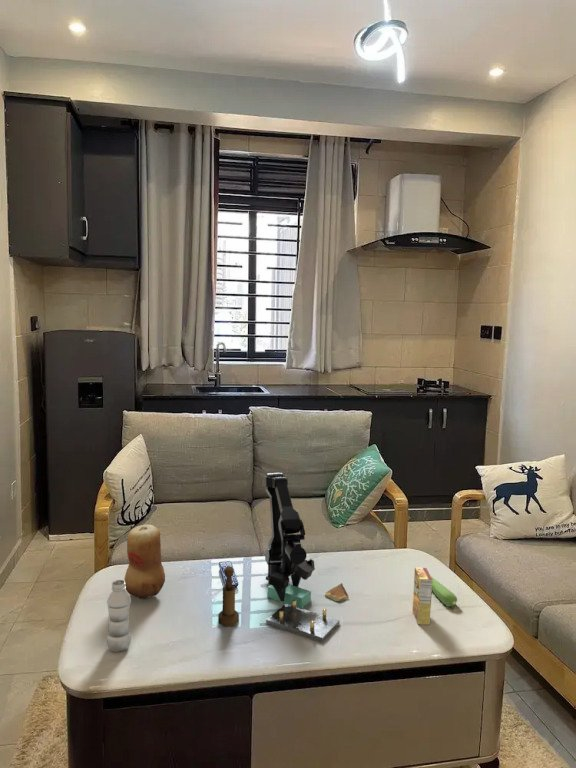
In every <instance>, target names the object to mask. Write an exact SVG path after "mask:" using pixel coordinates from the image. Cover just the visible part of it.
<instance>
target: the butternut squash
mask: <svg viewBox="0 0 576 768" xmlns="http://www.w3.org/2000/svg"><path fill="white" fill-rule="evenodd" d="M161 544H162V543H161V532H160V530H159V529H158V527H156V526H154V525H153V524H141V525H138V526H135V527H134V528H132V529H131V530H130V531H129V533H128V534H127V539H126V554H127V559H128V566H127V567H126V571H125V576H124V581H125V586H126V589H125V590H126V591H127V592H128V594H129V595H130V596H133V597H135V598H138V599H141V600H147V599H148V598H150V597H153V596H157V595H158V594H160V592H161V590H162V589H163V587H164V585H165V582H166V573H165V569H164V565H163V564H162V545H161Z"/></svg>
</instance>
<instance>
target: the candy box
mask: <svg viewBox="0 0 576 768" xmlns="http://www.w3.org/2000/svg"><path fill="white" fill-rule="evenodd" d="M431 577H432V576H431V574H430V573H429V571H428V569H427V567H414V576H413V592H412V593H413V596H412V597H413V598H412V613H413V616H414V619H415V621H416V623H417V625H422V626H423V625H426V626H427V625H428V626H430V624H431V611H432V608H431V607H432V597H433V596H432V593H433V591H432V578H431Z"/></svg>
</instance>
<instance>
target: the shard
mask: <svg viewBox="0 0 576 768" xmlns="http://www.w3.org/2000/svg"><path fill="white" fill-rule="evenodd" d="M324 597H326V598H328V599H331V600H333V601H335V602H340V601H343V600H349V595H348V593H347V591H346V588H345V587H344V584H343V583H340V584H338V585H336V586H335V587H332V588H330V589H329V590H328V591H327V592H325V593H324Z"/></svg>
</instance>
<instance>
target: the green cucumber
mask: <svg viewBox="0 0 576 768" xmlns="http://www.w3.org/2000/svg"><path fill="white" fill-rule="evenodd" d="M431 578H432V593H433V594H434V595H436V598H438V599H439V600H440V601H441V602H442V604H443V605H444V606H446V607H448V608H449V607H454V606H455V605H456V604H457V602H458V597H457V596H456V595H455V594H454V593H453V592H452V591H451V590H450V589H449V588H447V587H446V586H445V585H443V584H442V583H440V582H439V581H438V580H436V579H435V578H434V577H433V576H431Z"/></svg>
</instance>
